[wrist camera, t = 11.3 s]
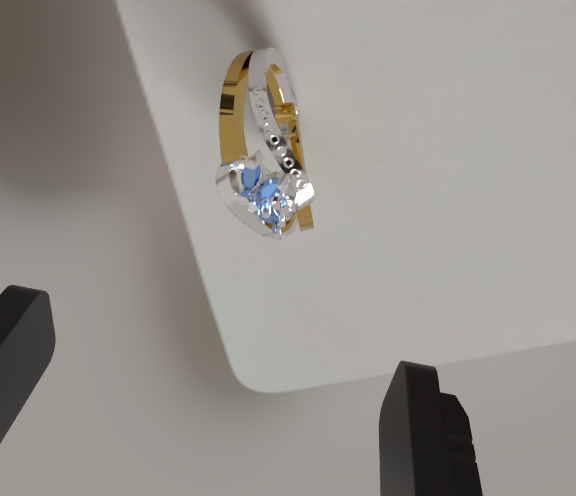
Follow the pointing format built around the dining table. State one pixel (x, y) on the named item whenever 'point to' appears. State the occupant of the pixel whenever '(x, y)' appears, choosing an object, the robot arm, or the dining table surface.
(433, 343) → the dining table surface
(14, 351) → the robot arm
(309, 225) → the ring
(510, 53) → the dining table surface
